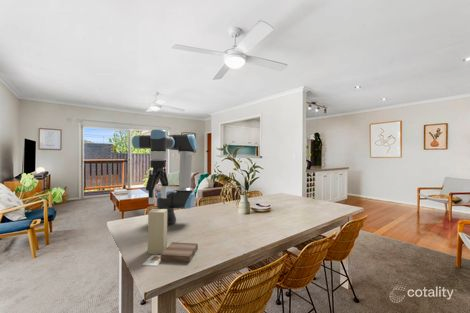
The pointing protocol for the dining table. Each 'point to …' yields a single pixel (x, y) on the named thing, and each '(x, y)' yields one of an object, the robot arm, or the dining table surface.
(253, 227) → the dining table surface
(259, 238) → the dining table surface
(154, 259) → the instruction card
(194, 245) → the walnut plinth
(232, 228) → the dining table surface
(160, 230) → the toy refrigerator
